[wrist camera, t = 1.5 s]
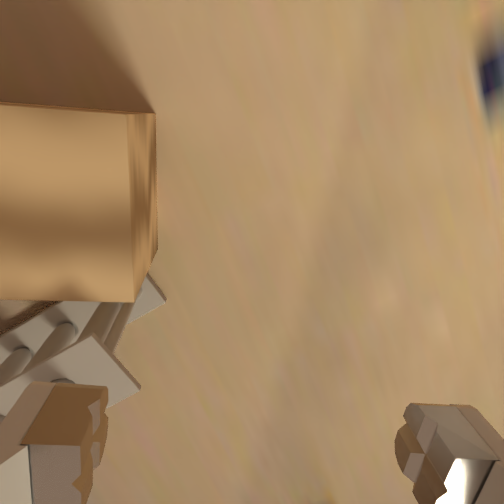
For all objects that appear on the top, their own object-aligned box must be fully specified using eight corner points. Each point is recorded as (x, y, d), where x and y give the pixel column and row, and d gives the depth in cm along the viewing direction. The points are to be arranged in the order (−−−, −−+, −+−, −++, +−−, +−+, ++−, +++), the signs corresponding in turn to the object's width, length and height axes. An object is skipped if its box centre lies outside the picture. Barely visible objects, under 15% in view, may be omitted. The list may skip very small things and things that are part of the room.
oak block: (-62, 97, 24) (-208, 89, 16) (155, 113, 26) (126, 114, 18) (-33, 240, 28) (-140, 296, 20) (157, 247, 29) (134, 302, 21)
